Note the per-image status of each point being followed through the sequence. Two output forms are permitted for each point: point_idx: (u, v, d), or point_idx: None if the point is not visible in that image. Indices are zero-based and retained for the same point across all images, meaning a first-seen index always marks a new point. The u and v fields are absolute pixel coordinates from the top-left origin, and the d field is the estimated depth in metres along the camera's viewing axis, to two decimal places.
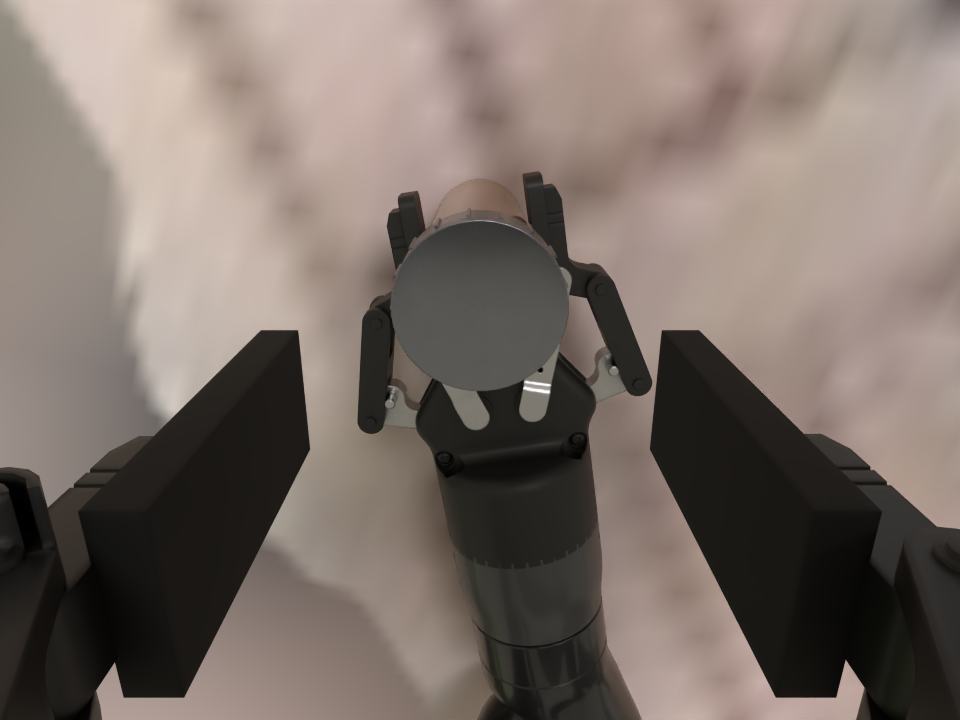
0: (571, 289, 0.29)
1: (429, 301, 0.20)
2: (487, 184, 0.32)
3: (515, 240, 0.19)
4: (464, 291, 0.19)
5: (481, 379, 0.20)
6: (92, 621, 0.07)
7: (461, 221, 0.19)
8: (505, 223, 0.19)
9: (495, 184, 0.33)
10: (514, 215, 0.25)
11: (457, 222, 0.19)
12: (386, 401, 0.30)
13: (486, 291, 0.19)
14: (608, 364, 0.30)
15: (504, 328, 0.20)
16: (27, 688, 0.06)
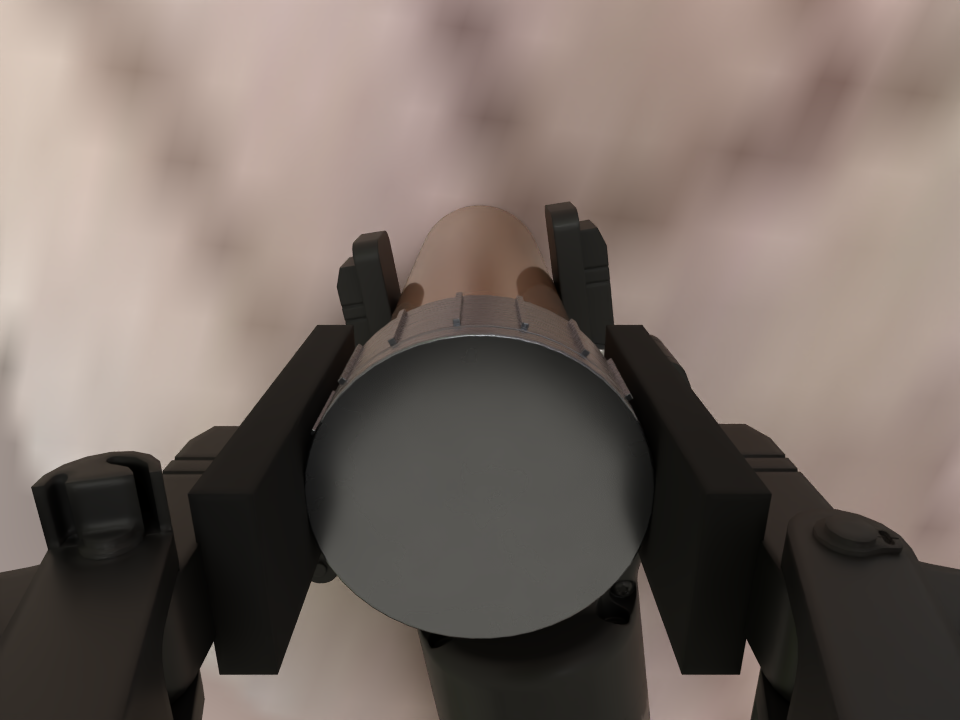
0: None
1: (379, 486, 0.10)
2: (490, 215, 0.22)
3: (552, 373, 0.09)
4: (449, 468, 0.10)
5: (482, 619, 0.11)
6: (199, 599, 0.08)
7: (441, 336, 0.09)
8: (532, 340, 0.09)
9: (502, 214, 0.23)
10: (536, 281, 0.15)
11: (432, 339, 0.09)
12: None
13: (492, 468, 0.10)
14: None
15: (527, 533, 0.10)
16: (149, 666, 0.06)
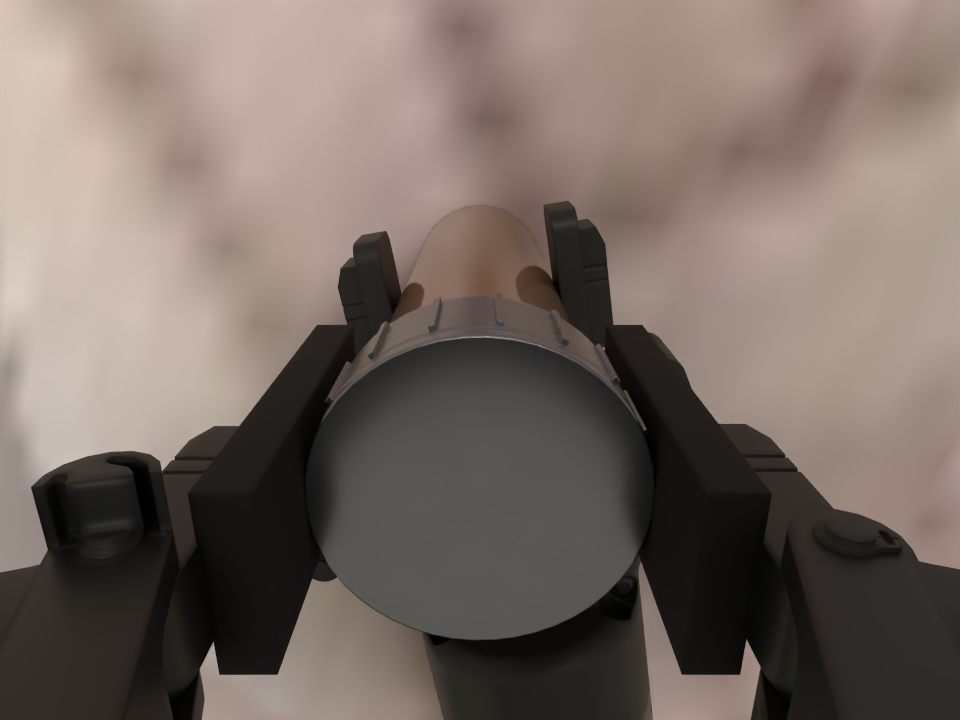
0: None
1: (503, 581, 0.10)
2: (490, 215, 0.22)
3: (326, 496, 0.10)
4: (458, 537, 0.10)
5: (619, 446, 0.10)
6: (198, 599, 0.08)
7: (344, 582, 0.10)
8: (309, 519, 0.10)
9: (501, 213, 0.23)
10: (535, 279, 0.15)
11: (349, 589, 0.10)
12: None
13: (441, 504, 0.10)
14: None
15: (496, 447, 0.10)
16: (150, 666, 0.06)
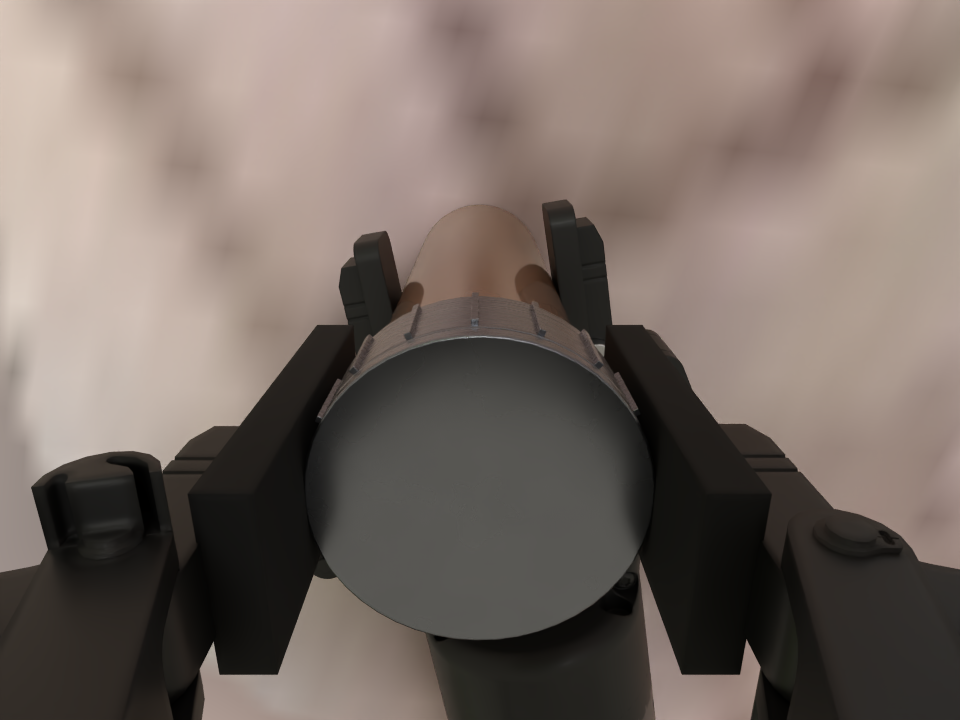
0: None
1: (561, 447, 0.10)
2: (489, 214, 0.23)
3: (530, 617, 0.11)
4: (526, 504, 0.10)
5: (361, 412, 0.09)
6: (199, 599, 0.08)
7: (621, 575, 0.10)
8: (563, 619, 0.11)
9: (500, 213, 0.24)
10: (534, 277, 0.15)
11: (626, 570, 0.10)
12: None
13: (497, 531, 0.10)
14: None
15: (417, 510, 0.10)
16: (148, 667, 0.06)
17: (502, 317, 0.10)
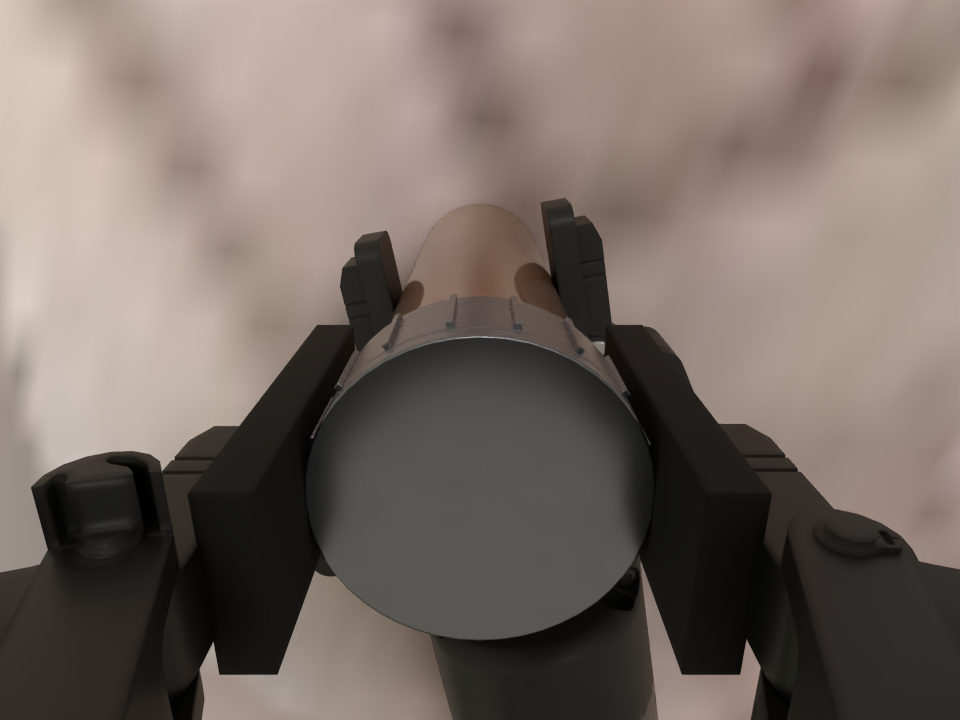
0: None
1: (389, 459, 0.10)
2: (489, 213, 0.23)
3: (595, 404, 0.09)
4: (463, 462, 0.10)
5: (437, 616, 0.11)
6: (198, 599, 0.08)
7: (505, 336, 0.09)
8: (588, 367, 0.09)
9: (500, 212, 0.24)
10: (533, 275, 0.15)
11: (496, 335, 0.09)
12: None
13: (504, 475, 0.10)
14: None
15: (512, 546, 0.10)
16: (150, 666, 0.06)
17: None
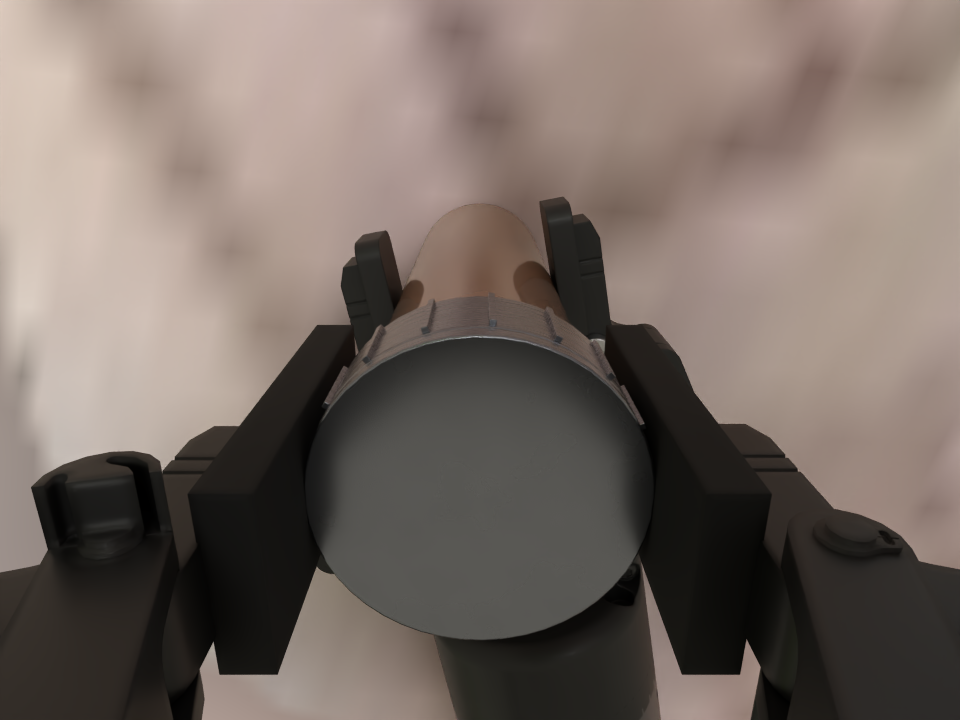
0: None
1: (471, 583, 0.10)
2: (488, 212, 0.23)
3: (333, 451, 0.10)
4: (445, 529, 0.10)
5: (628, 488, 0.10)
6: (198, 599, 0.08)
7: (315, 540, 0.10)
8: (305, 469, 0.10)
9: (499, 211, 0.24)
10: (531, 273, 0.16)
11: None
12: None
13: (441, 492, 0.10)
14: None
15: (515, 455, 0.10)
16: (150, 666, 0.06)
17: None
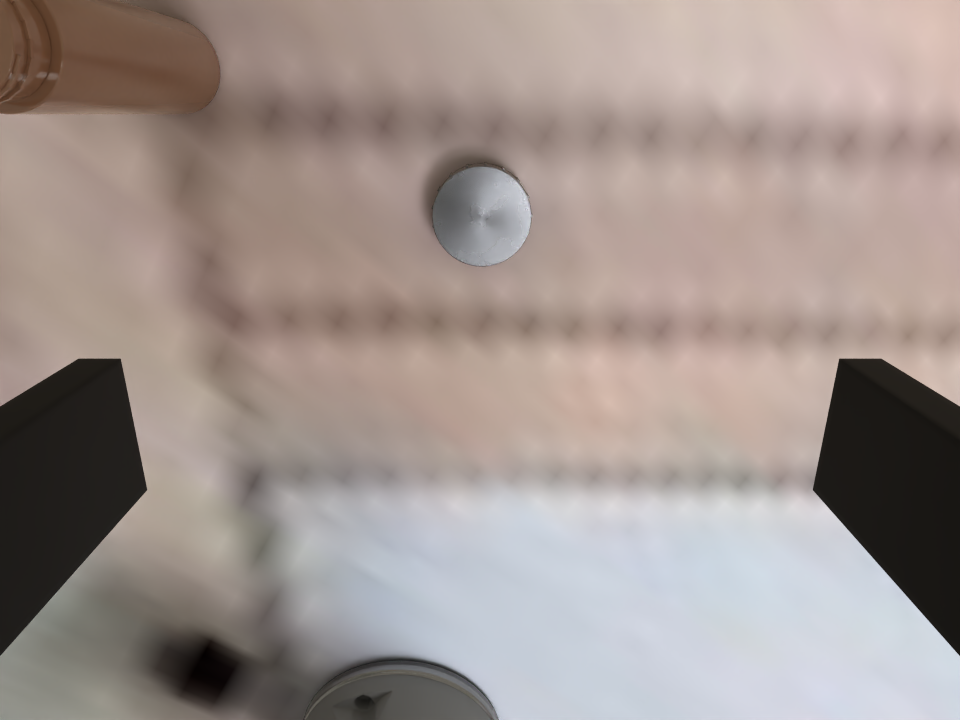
0: None
1: (479, 245, 0.36)
2: (198, 90, 0.33)
3: (441, 201, 0.35)
4: (472, 226, 0.35)
5: (523, 213, 0.35)
6: None
7: None
8: (433, 207, 0.35)
9: (203, 98, 0.34)
10: (103, 103, 0.26)
11: (435, 233, 0.36)
12: None
13: (471, 214, 0.35)
14: None
15: (491, 202, 0.35)
16: None
17: None
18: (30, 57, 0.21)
